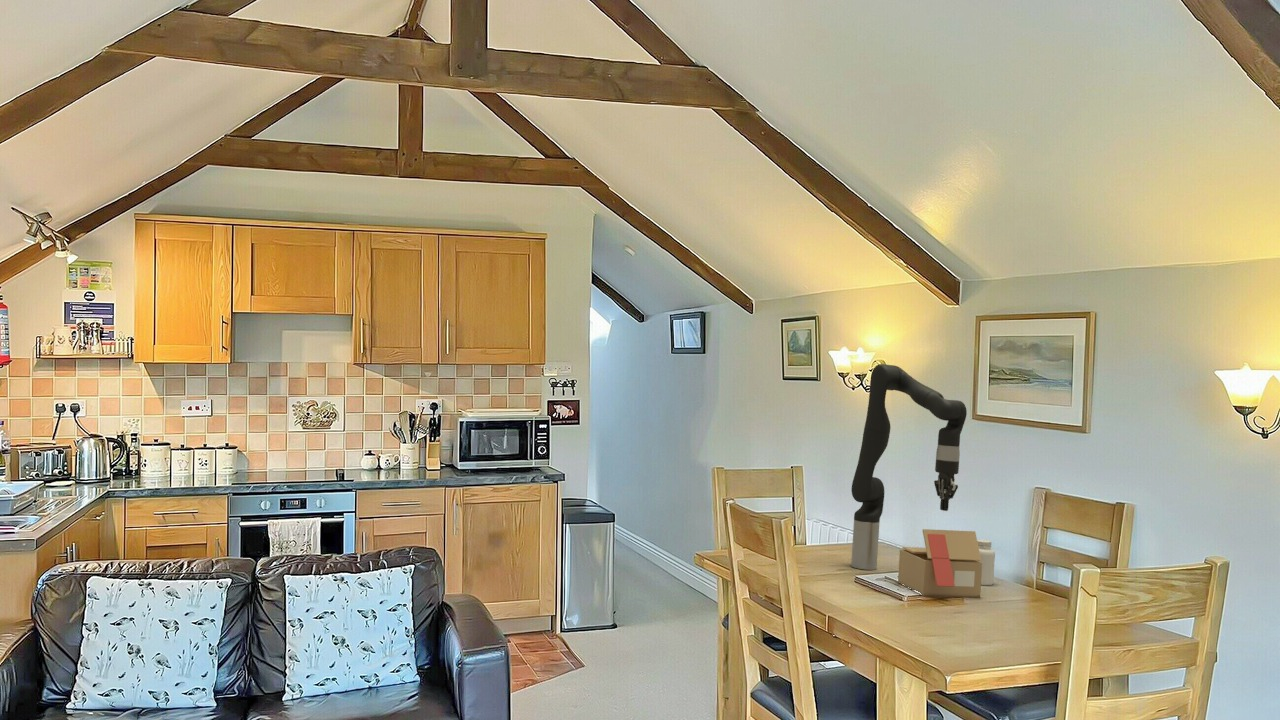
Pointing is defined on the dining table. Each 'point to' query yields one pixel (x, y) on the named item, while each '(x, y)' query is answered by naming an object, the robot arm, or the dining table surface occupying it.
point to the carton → (922, 578)
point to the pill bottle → (986, 561)
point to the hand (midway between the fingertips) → (943, 510)
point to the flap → (949, 551)
